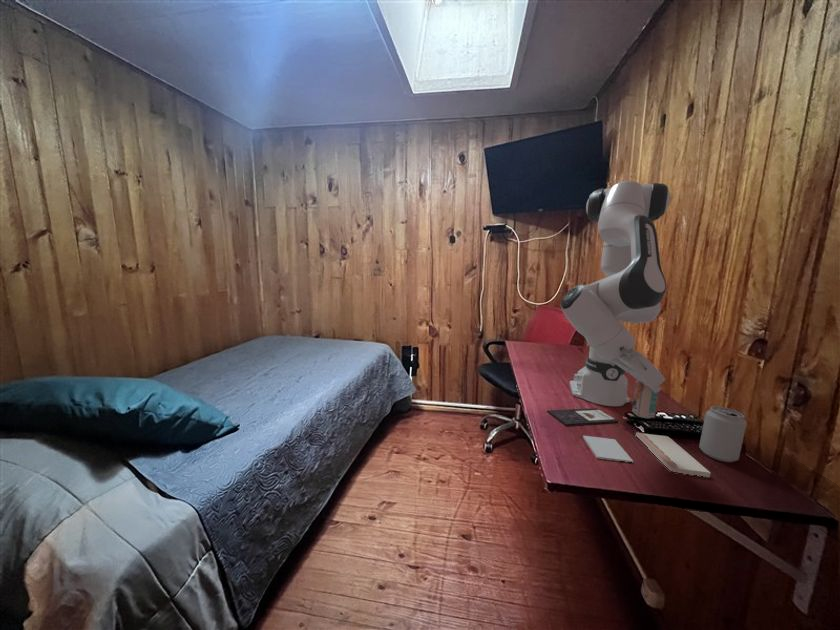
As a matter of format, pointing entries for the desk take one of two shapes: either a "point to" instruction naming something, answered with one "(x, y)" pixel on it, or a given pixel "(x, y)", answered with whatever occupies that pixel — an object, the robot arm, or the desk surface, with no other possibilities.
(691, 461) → the board
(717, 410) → the can
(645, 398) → the jar with lid
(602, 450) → the mat
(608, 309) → the robot arm
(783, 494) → the desk surface
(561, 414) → the chocolate bar
